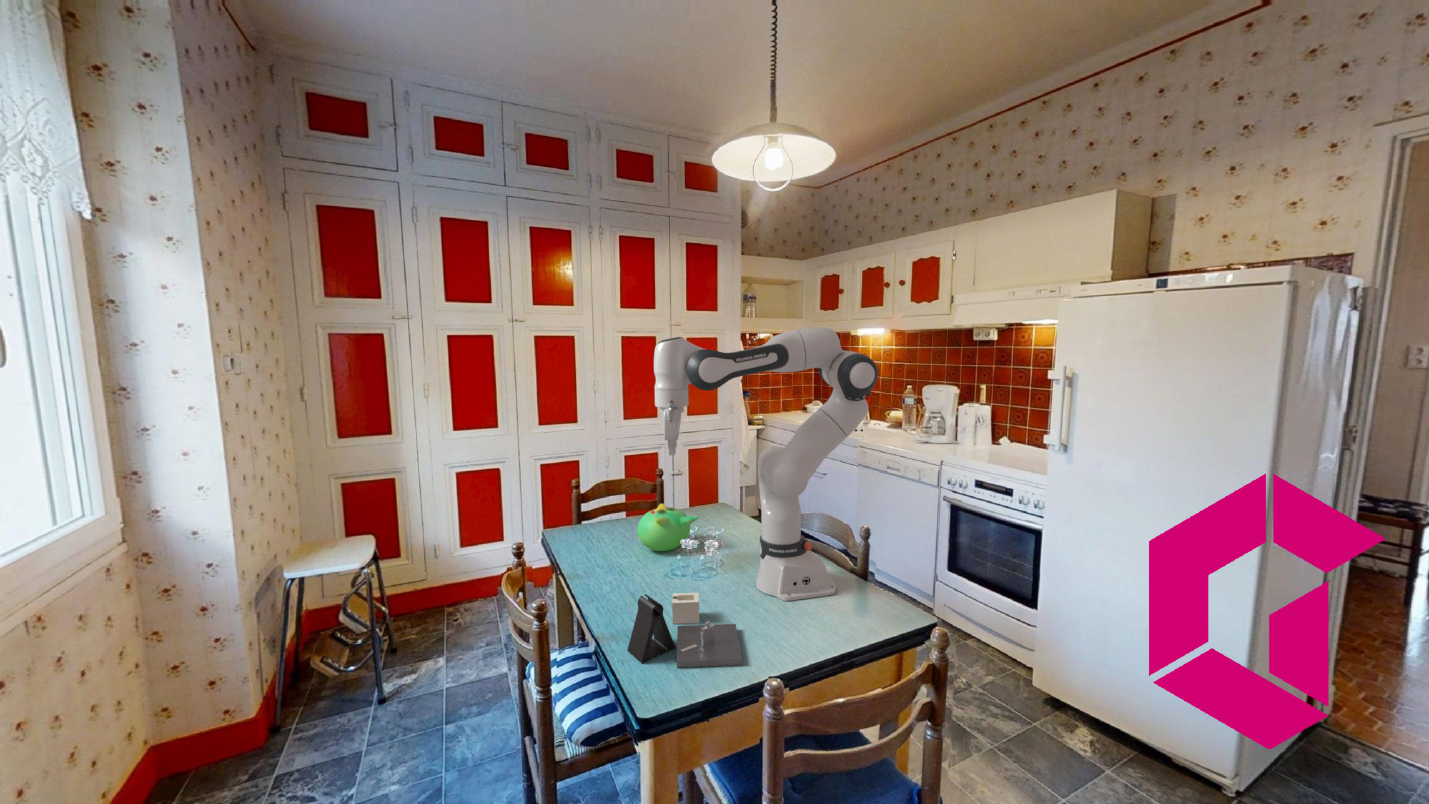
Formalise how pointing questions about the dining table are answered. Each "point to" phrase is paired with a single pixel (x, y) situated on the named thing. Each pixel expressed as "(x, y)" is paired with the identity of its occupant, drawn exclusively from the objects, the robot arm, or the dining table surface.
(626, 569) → the dining table surface
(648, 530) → the green bird toy
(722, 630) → the grey square base
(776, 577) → the robot arm
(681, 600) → the hollow rectangular block
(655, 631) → the black a-frame stand
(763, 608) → the dining table surface
